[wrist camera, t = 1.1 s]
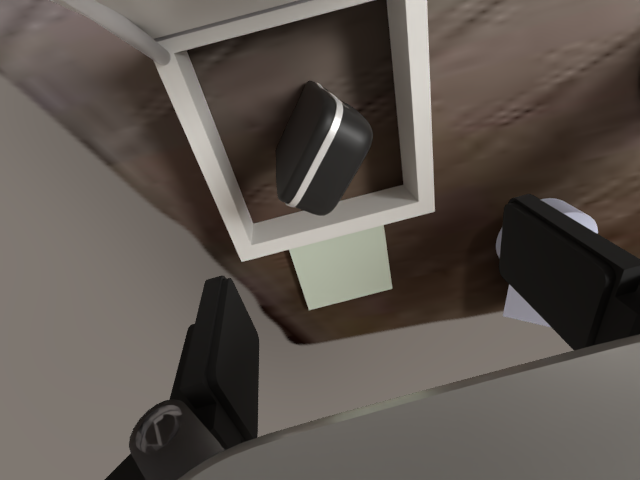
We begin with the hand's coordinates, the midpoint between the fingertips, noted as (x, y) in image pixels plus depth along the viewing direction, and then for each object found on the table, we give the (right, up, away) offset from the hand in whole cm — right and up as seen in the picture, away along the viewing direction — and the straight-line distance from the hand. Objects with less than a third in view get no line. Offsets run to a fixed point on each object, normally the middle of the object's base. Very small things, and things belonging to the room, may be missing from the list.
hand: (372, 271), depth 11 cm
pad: (+1, -1, +25) cm, 26 cm away
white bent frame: (-3, +12, +17) cm, 21 cm away
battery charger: (-3, +11, +18) cm, 21 cm away
